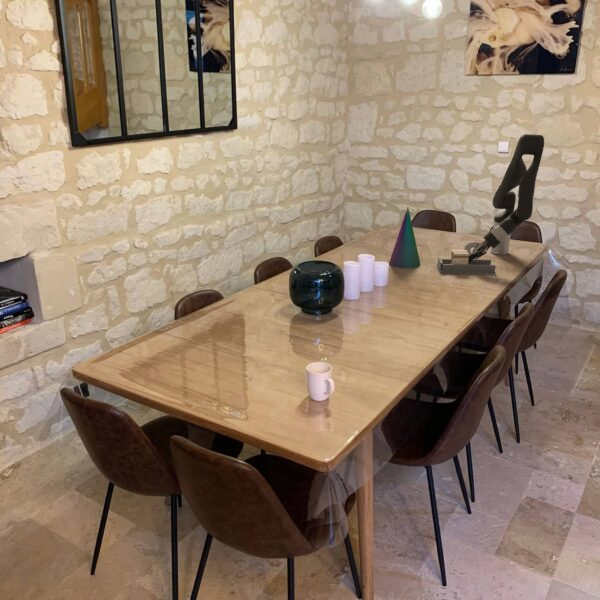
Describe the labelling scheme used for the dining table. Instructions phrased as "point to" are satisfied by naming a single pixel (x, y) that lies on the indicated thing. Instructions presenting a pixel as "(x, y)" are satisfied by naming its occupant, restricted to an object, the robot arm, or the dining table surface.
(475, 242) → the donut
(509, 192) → the robot arm
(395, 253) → the decorative cone
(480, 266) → the bay
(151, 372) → the dining table surface
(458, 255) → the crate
